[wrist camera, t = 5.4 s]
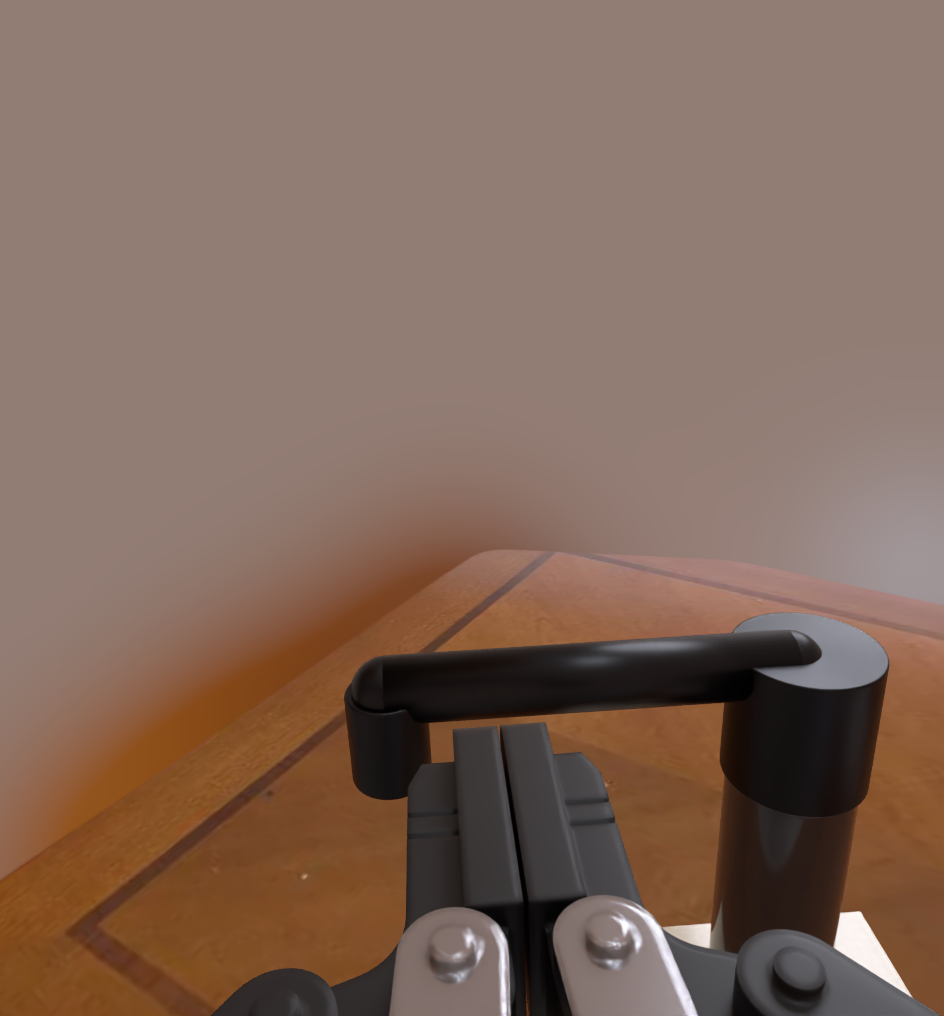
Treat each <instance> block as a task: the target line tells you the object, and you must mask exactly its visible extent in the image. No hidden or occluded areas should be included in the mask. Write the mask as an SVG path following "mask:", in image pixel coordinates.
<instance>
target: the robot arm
mask: <svg viewBox="0 0 944 1016" xmlns="http://www.w3.org/2000/svg"><path fill="white" fill-rule="evenodd" d="M453 746H454V762H446V763H432V764H421V766H420V768H419V769H418V771H417V773H416V774H415V776H414V778H413V780H412V781H411V783H410V785H409V786H408V812H407V813H408V818H407V884H406V922H405V928H404V932H403V935H402V937H401V939H400V941H399V943H398V945H397V946H396V947H395V949H394V950H393V952H392V953H391V954H390V955H389V956H388V957H387V958H386V959H385V960H384V961H383V962H382V963H380V964H379V965H378V966H376V967H375V968H373V969H372V970H370V971H369V972H367V973H364V974H362V975H360V976H358V977H356V978H353V979H351V980H348V981H345V982H343V983H340V984H338V985H335V986H333V987H330V986H329V985H328V984H327V983H326V982H325V981H324V980H323V979H322V978H321V977H319V976H318V975H316V974H314V973H312V972H309V971H306V970H303V969H295V968H288V969H278V970H273V971H270V972H267V973H264V974H261V975H259V976H257V977H255V978H253V979H252V980H250V981H249V982H247V983H245V984H244V985H243V986H242V987H240V988H239V989H238V990H237V991H236V992H235V993H234V994H233V995H232V996H230V997H229V998H228V999H227V1000H226V1001H225V1002H224V1003H223V1004H222V1005H221V1006H220V1007H219V1008H218V1009H217V1010H216V1011H215V1012H214V1013H213V1014H212V1015H211V1016H526V995H527V1003H528V1010H529V1016H940V1015H939V1014H937V1013H936V1012H934V1011H932V1010H931V1009H929V1008H928V1007H926V1006H925V1005H923V1004H921V1003H920V1002H918V1001H917V1000H915V999H914V998H912V997H910V996H909V995H907V994H906V993H904V992H903V991H901V990H899V989H898V988H896V987H895V986H893V985H892V984H890V983H888V982H887V981H885V980H884V979H882V978H880V977H879V976H877V975H876V974H874V973H873V972H871V971H869V970H868V969H866V968H865V967H863V966H862V965H860V964H858V963H857V962H855V961H854V960H852V959H851V958H849V957H847V956H846V955H844V954H843V953H841V952H840V951H838V950H836V949H835V948H833V947H832V946H830V945H829V944H827V943H825V942H823V941H822V940H820V939H818V938H816V937H813V936H811V935H809V934H806V933H802V932H799V931H794V930H787V929H774V930H767V931H764V932H760V933H758V934H756V935H754V936H752V937H751V938H749V939H748V940H747V941H746V942H745V943H744V944H743V946H742V947H741V948H740V951H739V953H738V954H735V953H730V952H725V951H720V950H715V949H710V948H705V947H701V946H697V945H693V944H690V943H688V942H685V941H683V940H680V939H679V938H677V937H675V936H673V935H671V934H670V933H668V932H667V931H665V930H664V929H663V928H661V927H660V925H659V923H658V922H657V921H656V919H655V918H654V917H653V916H652V915H651V914H650V913H649V912H648V911H647V910H646V909H645V908H644V906H643V904H642V901H641V899H640V896H639V893H638V890H637V886H636V883H635V880H634V877H633V874H632V870H631V867H630V864H629V861H628V858H627V854H626V851H625V848H624V845H623V842H622V838H621V835H620V832H619V829H618V826H617V823H616V822H615V816H614V813H613V810H612V806H611V803H610V802H609V797H608V794H607V790H606V787H605V784H604V781H603V778H602V775H601V772H600V771H599V770H598V769H597V768H596V767H595V766H594V765H593V764H592V763H591V762H590V761H589V760H588V759H587V758H586V757H585V756H584V755H583V754H582V753H581V752H577V753H564V754H553V751H552V747H551V742H550V738H549V734H548V730H547V726H546V723H545V722H542V723H529V724H515V725H501V726H500V741H499V735H498V729H497V726H490V727H476V728H463V729H453ZM500 747H501V748H500Z"/></svg>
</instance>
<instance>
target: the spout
mask: <svg viewBox="0 0 944 1016" xmlns="http://www.w3.org/2000/svg"><path fill="white" fill-rule="evenodd" d="M888 670H889V659H888V656H887V653H886V652H885V650H884V648H883V647H882V646H881V645H880V644H879V643H878V642H877V641H876V640H875V639H874V638H872V637H871V636H869V635H868V634H866V633H865V632H863V631H861V630H859V629H857V628H855V627H853V626H851V625H848V624H846V623H843V622H840V621H837V620H834V619H830V618H827V617H822V616H817V615H811V614H804V613H771V614H764V615H760V616H756V617H753V618H750V619H748V620H746V621H744V622H742V623H741V624H739V625H738V626H737V627H736V628H735V629H734V630H733V632H732V633H725V634H709V635H694V636H679V637H663V638H648V639H632V640H617V641H602V642H586V643H571V644H556V645H540V646H525V647H509V648H494V649H479V650H463V651H448V652H432V653H417V654H402V655H386V656H379V657H375V658H373V659H370V660H369V661H367V662H365V663H364V664H363V665H362V666H361V667H360V668H359V669H358V671H357V672H356V674H355V676H354V678H353V680H352V683H351V684H350V685H349V686H348V688H347V689H346V692H345V695H344V701H345V711H346V720H347V729H348V738H349V747H350V756H351V765H352V774H353V781H354V783H355V785H356V787H357V788H358V789H359V790H360V791H361V792H362V793H363V794H365V795H367V796H369V797H372V798H375V799H381V800H394V799H400V798H404V797H407V796H408V786H409V785H410V783H411V781H412V780H413V778H414V776H415V774H416V773H417V771H418V769H419V768H420V766H421V764H432V762H431V747H430V732H429V723H434V722H449V721H463V720H478V719H492V718H507V717H522V716H536V715H551V714H565V713H580V712H594V711H609V710H624V709H638V708H653V707H667V706H682V705H696V704H711V703H724V712H723V724H722V735H721V747H720V764H721V768H722V770H723V772H724V774H725V776H726V778H727V779H728V780H729V782H730V783H731V784H732V785H733V786H734V787H735V788H736V789H737V790H738V791H739V792H740V793H742V794H743V795H744V796H746V797H747V798H749V799H750V800H752V801H754V802H756V803H758V804H760V805H762V806H764V807H766V808H769V809H771V810H774V811H777V812H780V813H784V814H788V815H792V816H799V817H809V818H824V817H831V816H836V815H840V814H843V813H846V812H848V811H850V810H852V809H854V808H855V807H857V806H858V805H859V804H860V803H861V802H862V801H863V800H864V798H865V797H866V795H867V793H868V788H869V783H870V777H871V771H872V765H873V759H874V753H875V747H876V741H877V735H878V730H879V724H880V718H881V712H882V706H883V700H884V694H885V688H886V682H887V676H888Z"/></svg>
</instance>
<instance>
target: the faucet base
mask: <svg viewBox="0 0 944 1016" xmlns="http://www.w3.org/2000/svg"><path fill="white" fill-rule="evenodd" d="M857 810H858V806H857V807H855V808H854V809H852V810H850V811H848V812H846V813H843V814H840V815H836V816H831V817H824V818H809V817H799V816H792V815H788V814H784V813H780V812H777V811H774V810H771V809H769V808H766V807H764V806H762V805H760V804H758V803H756V802H754V801H752V800H750V799H749V798H747V797H746V796H744V795H743V794H742V793H740V792H739V791H738V790H737V789H736V788H735V787H734V786H733V785H732V784H731V783H730V782H729V780H728V779H727V778H726V776H725V775H724V786H723V797H722V808H721V819H720V830H719V842H718V853H717V864H716V875H715V886H714V897H713V908H712V919H711V923H709V924H696V925H684V926H671V927H661V928H663V929H664V930H665V931H667V932H668V933H670V934H671V935H673V936H675V937H677V938H679V939H680V940H683V941H685V942H688V943H690V944H693V945H697V946H701V947H705V948H710V949H715V950H720V951H725V952H730V953H735V954H738V953H739V951H740V948H741V947H742V946H743V944H744V943H745V942H746V941H747V940H748V939H749V938H751V937H752V936H754V935H756V934H758V933H760V932H764V931H767V930H774V929H787V930H794V931H799V932H802V933H806V934H809V935H811V936H813V937H816V938H818V939H820V940H822V941H823V942H825V943H827V944H829V945H830V946H832V947H833V948H835V949H836V950H838V951H840V952H841V953H843V954H844V955H846V956H847V957H849V958H851V959H852V960H854V961H855V962H857V963H858V964H860V965H862V966H863V967H865V968H866V969H868V970H869V971H871V972H873V973H874V974H876V975H877V976H879V977H880V978H882V979H884V980H885V981H887V982H888V983H890V984H892V985H893V986H895V987H896V988H898V989H899V990H901V991H903V992H904V993H906V994H907V995H909V996H910V997H912V996H911V994H910V993H909V991H908V989H907V988H906V986H905V984H904V983H903V981H902V979H901V978H900V976H899V975H898V973H897V971H896V970H895V968H894V966H893V965H892V963H891V961H890V960H889V958H888V956H887V955H886V953H885V951H884V950H883V948H882V946H881V945H880V943H879V941H878V940H877V938H876V937H875V935H874V933H873V932H872V930H871V928H870V927H869V925H868V923H867V922H866V920H865V918H864V917H863V915H862V913H861V912H860V911H858V912H845V913H841V907H842V901H843V895H844V889H845V883H846V877H847V871H848V865H849V859H850V852H851V846H852V840H853V834H854V828H855V822H856V816H857Z"/></svg>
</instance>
